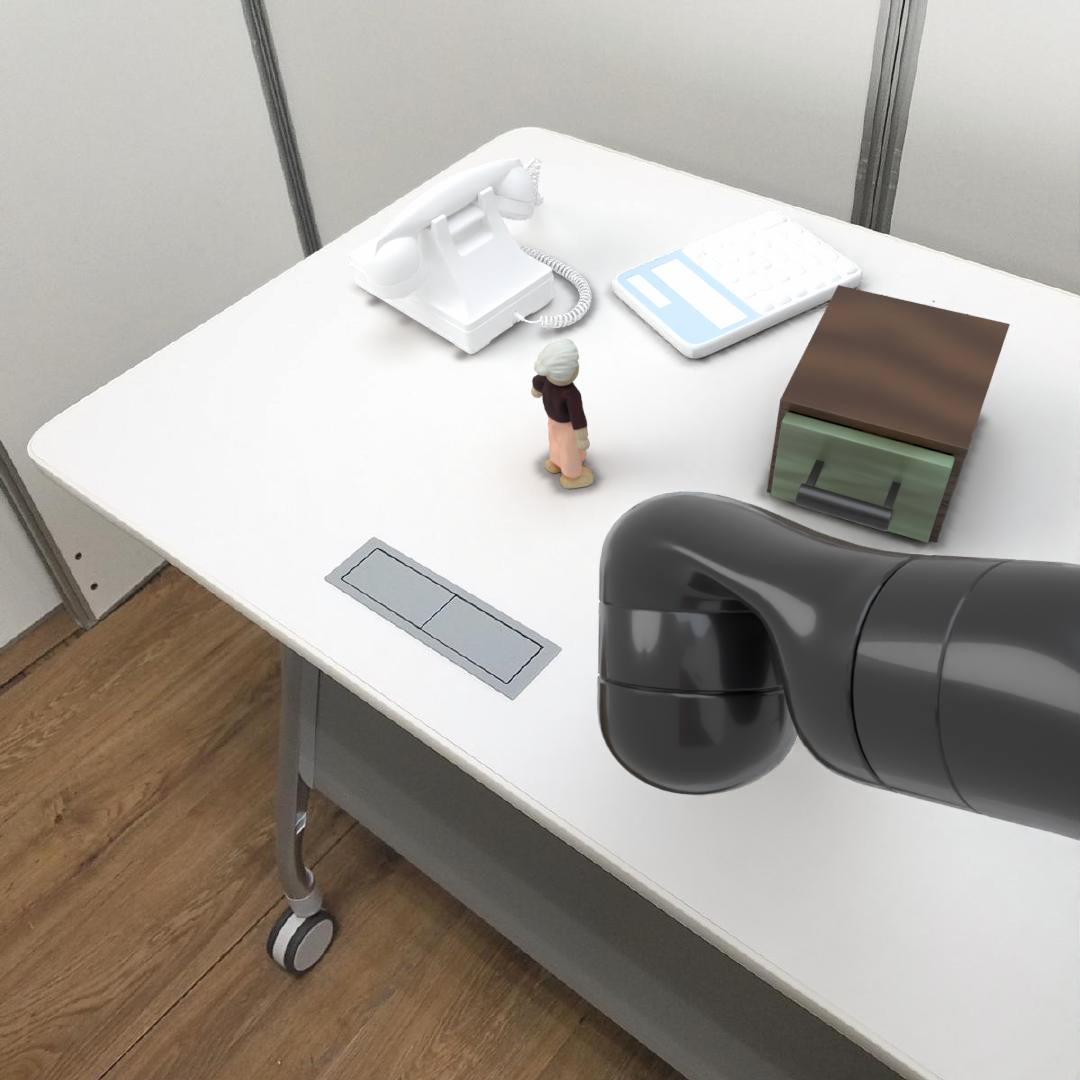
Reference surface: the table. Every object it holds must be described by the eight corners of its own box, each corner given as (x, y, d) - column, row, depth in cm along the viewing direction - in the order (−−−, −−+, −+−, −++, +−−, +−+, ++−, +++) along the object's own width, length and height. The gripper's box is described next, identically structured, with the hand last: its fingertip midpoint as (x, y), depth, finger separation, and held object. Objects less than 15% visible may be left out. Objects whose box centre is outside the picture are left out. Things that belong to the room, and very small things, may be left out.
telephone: (505, 193, 115) (494, 78, 106) (656, 268, 105) (660, 148, 96) (318, 305, 104) (288, 188, 95) (468, 401, 94) (451, 280, 85)
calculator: (866, 286, 102) (869, 268, 100) (690, 365, 96) (691, 348, 94) (774, 220, 109) (776, 203, 108) (606, 290, 103) (606, 273, 102)
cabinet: (936, 542, 81) (968, 449, 74) (766, 492, 85) (780, 399, 78) (978, 418, 89) (1010, 323, 82) (821, 377, 94) (838, 284, 86)
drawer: (913, 585, 77) (937, 511, 72) (751, 535, 81) (761, 460, 75) (967, 426, 88) (992, 349, 82) (821, 388, 91) (835, 312, 86)
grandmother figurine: (616, 479, 87) (615, 354, 78) (581, 504, 86) (576, 380, 76) (551, 432, 91) (543, 308, 82) (516, 455, 90) (504, 331, 80)
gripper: (624, 630, 57) (696, 603, 73) (876, 720, 53) (894, 671, 69) (666, 493, 56) (730, 496, 73) (926, 573, 52) (932, 558, 68)
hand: (810, 581), depth 71 cm, fingers closed
